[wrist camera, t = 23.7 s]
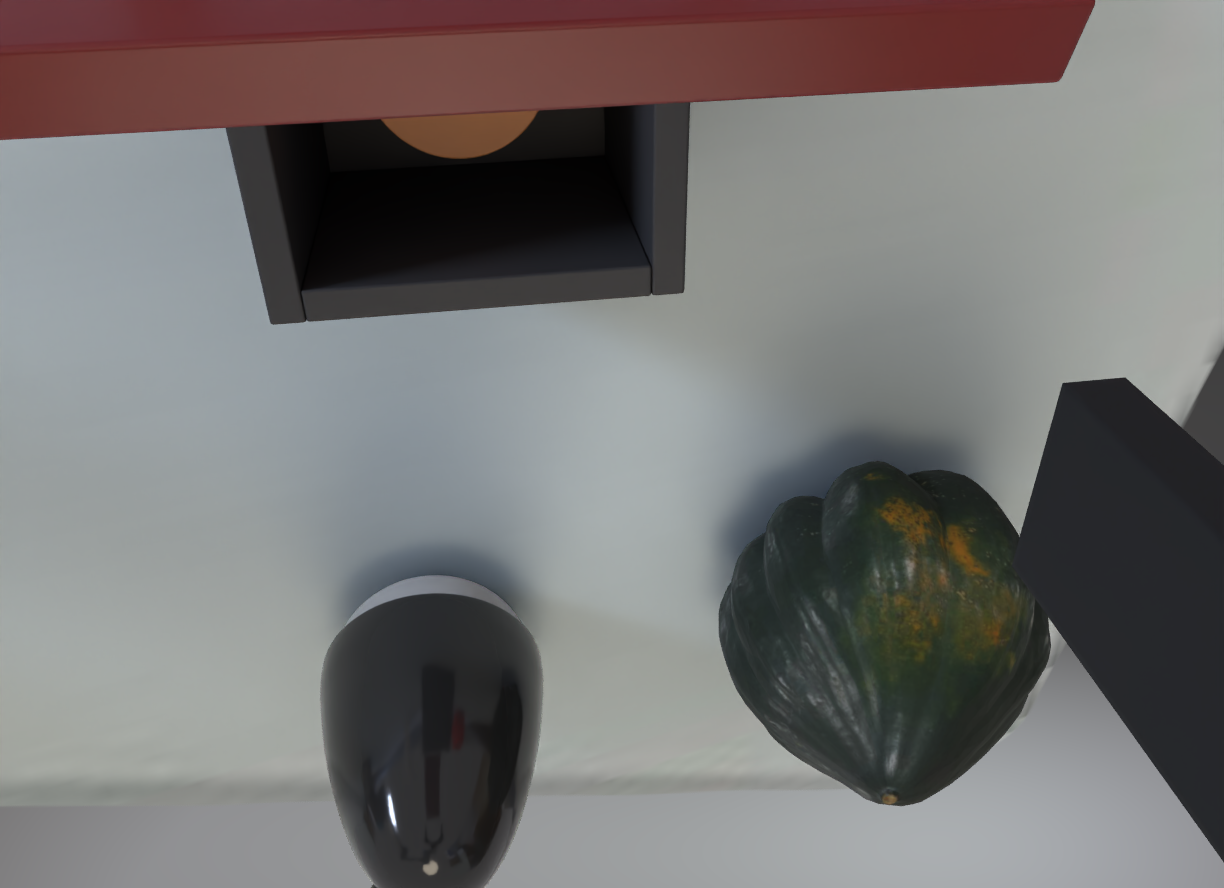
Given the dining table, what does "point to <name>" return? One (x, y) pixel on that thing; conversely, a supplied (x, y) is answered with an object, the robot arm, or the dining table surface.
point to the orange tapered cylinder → (461, 132)
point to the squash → (885, 630)
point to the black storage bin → (465, 214)
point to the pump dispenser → (431, 731)
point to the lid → (491, 56)
